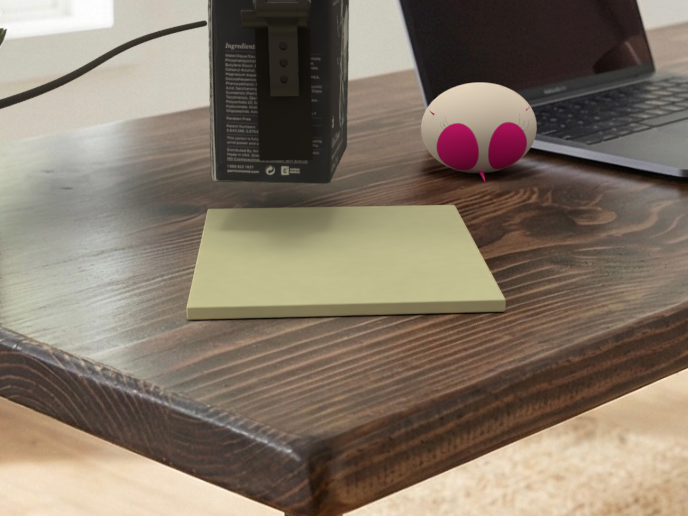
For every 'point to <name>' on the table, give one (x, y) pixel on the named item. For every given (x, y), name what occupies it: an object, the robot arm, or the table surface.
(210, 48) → the box
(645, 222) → the table surface
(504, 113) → the stress ball
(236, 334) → the table surface
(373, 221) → the mat
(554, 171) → the table surface
